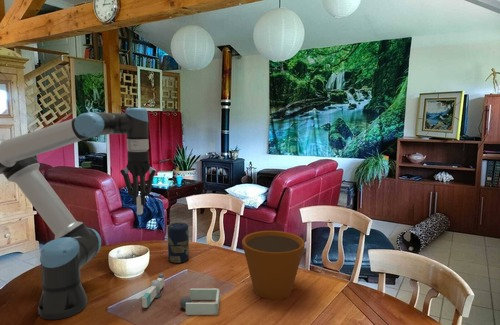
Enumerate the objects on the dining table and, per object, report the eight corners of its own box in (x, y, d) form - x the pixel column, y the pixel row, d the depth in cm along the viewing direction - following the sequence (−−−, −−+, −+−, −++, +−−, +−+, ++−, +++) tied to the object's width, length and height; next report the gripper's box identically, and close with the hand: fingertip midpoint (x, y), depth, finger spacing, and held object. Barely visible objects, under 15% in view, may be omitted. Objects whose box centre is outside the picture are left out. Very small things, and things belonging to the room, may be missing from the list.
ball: (180, 307, 121) (178, 296, 124) (182, 312, 124) (179, 301, 127) (192, 303, 122) (189, 292, 125) (193, 308, 125) (190, 298, 128)
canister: (186, 264, 161) (186, 226, 158) (165, 264, 161) (165, 225, 158) (190, 256, 170) (190, 219, 168) (170, 255, 170) (170, 219, 168)
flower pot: (228, 290, 137) (229, 240, 135) (268, 271, 155) (269, 226, 152) (277, 314, 121) (278, 258, 119) (315, 289, 139) (317, 240, 136)
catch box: (185, 314, 120) (185, 303, 120) (190, 298, 131) (189, 288, 130) (217, 314, 120) (217, 303, 120) (219, 298, 131) (219, 288, 130)
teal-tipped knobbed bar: (140, 307, 123) (140, 294, 122) (158, 284, 140) (158, 273, 139) (148, 307, 122) (148, 295, 122) (166, 284, 139) (165, 273, 139)
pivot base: (148, 298, 130) (148, 297, 130) (151, 292, 135) (151, 291, 135) (160, 298, 130) (160, 296, 130) (162, 292, 135) (162, 291, 135)
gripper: (116, 151, 125) (118, 216, 128) (153, 151, 126) (155, 216, 129) (123, 149, 133) (125, 210, 136) (158, 149, 133) (159, 211, 136)
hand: (140, 213), depth 132 cm, fingers closed
